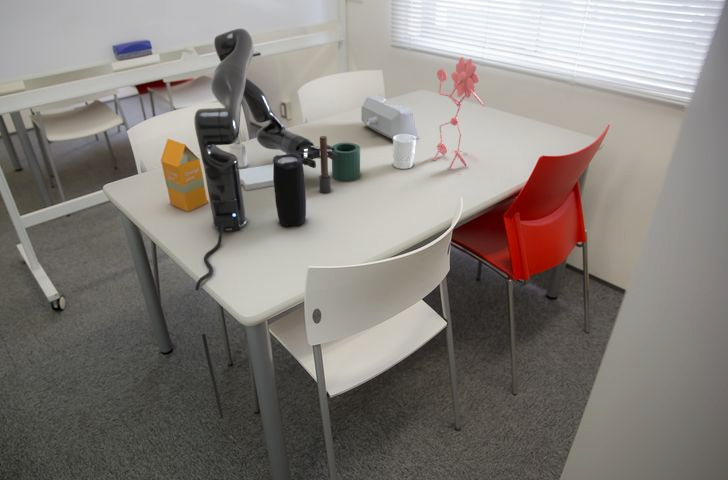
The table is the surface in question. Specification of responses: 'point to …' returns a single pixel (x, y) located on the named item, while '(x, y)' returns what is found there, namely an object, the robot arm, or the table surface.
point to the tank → (387, 117)
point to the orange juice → (183, 176)
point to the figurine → (463, 83)
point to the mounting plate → (257, 177)
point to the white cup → (403, 150)
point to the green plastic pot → (346, 162)
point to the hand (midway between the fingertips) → (326, 161)
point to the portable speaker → (289, 189)
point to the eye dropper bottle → (239, 152)
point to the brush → (324, 167)
